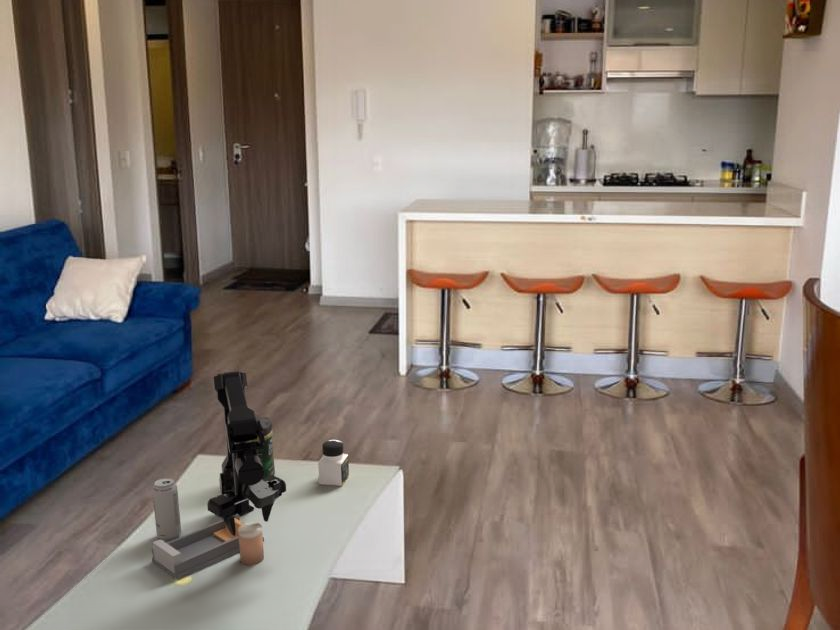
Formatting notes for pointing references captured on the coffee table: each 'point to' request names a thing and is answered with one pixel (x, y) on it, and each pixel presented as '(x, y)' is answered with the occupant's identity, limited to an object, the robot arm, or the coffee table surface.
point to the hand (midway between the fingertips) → (250, 528)
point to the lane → (194, 550)
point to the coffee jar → (266, 447)
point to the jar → (251, 543)
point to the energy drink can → (166, 509)
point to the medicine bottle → (333, 464)
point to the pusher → (228, 532)
